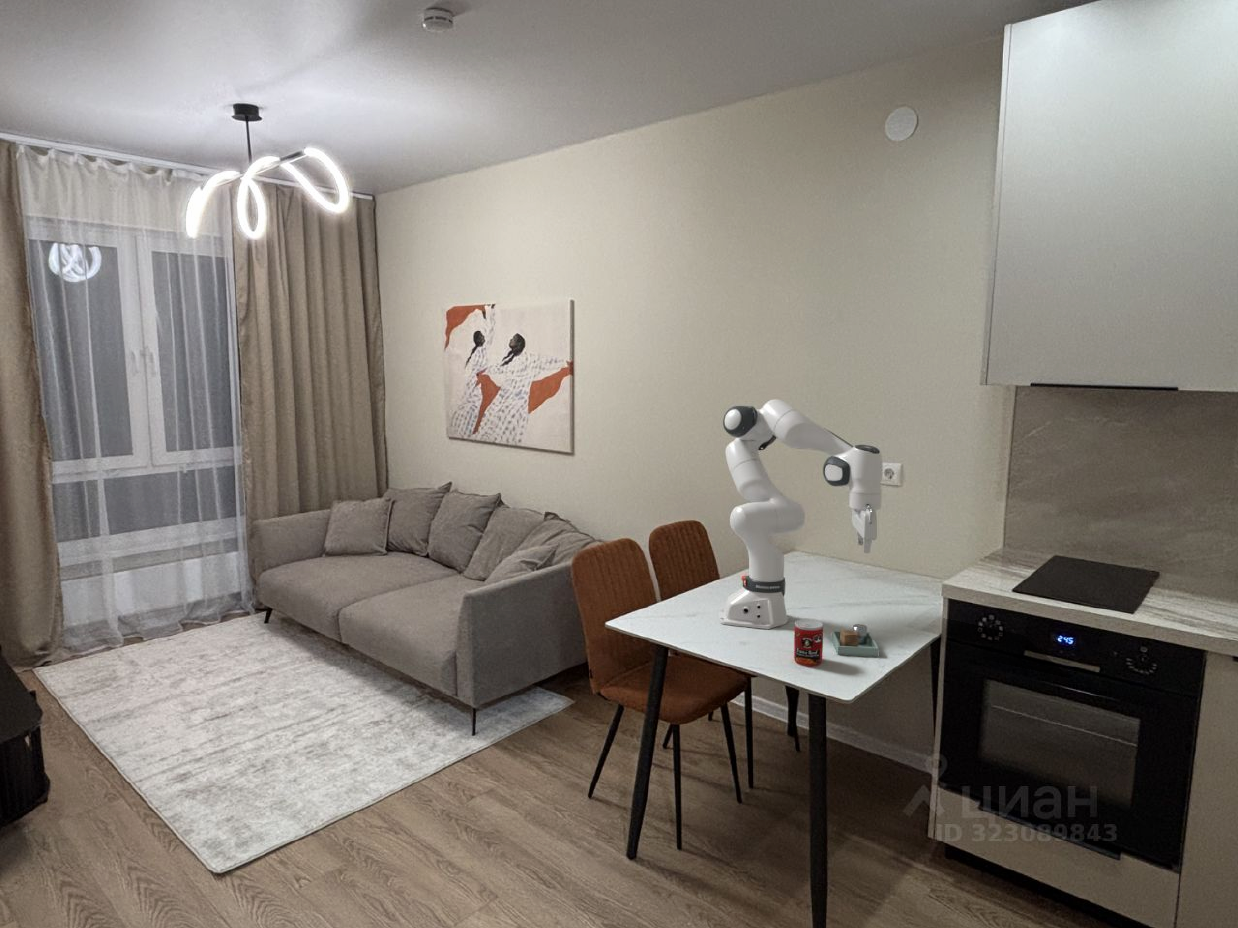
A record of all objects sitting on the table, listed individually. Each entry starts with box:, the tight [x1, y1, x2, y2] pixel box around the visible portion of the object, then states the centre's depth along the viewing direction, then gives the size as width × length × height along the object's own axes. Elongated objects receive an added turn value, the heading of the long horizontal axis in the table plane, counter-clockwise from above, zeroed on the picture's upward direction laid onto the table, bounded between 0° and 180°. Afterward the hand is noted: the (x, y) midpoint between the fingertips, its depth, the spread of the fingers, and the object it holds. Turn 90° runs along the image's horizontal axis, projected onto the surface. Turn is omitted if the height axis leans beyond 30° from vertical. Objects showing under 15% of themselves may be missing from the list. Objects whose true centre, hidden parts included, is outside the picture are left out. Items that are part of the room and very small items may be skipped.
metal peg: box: [852, 623, 868, 645], centre depth 222 cm, size 4×4×5 cm
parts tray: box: [830, 630, 880, 658], centre depth 220 cm, size 11×13×2 cm
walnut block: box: [839, 629, 859, 647], centre depth 217 cm, size 4×4×5 cm
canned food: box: [793, 618, 824, 667], centre depth 209 cm, size 8×8×11 cm
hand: (863, 548), depth 219 cm, fingers open, 8 cm apart
